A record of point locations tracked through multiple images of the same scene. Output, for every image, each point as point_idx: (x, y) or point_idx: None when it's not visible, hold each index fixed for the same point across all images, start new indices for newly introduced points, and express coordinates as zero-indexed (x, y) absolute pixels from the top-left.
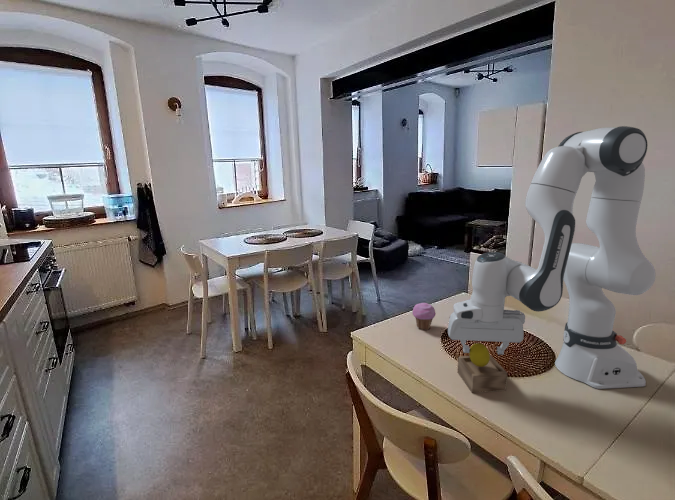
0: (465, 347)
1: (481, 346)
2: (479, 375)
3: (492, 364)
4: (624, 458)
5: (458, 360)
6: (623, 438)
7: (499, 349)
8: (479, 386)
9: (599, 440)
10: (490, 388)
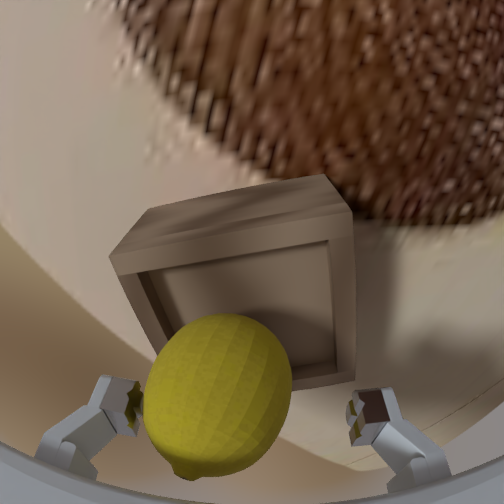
0: (106, 437)
1: (216, 476)
2: None
3: (327, 287)
4: (431, 435)
5: (120, 245)
6: (471, 404)
7: (359, 443)
8: None
9: (431, 419)
10: None
